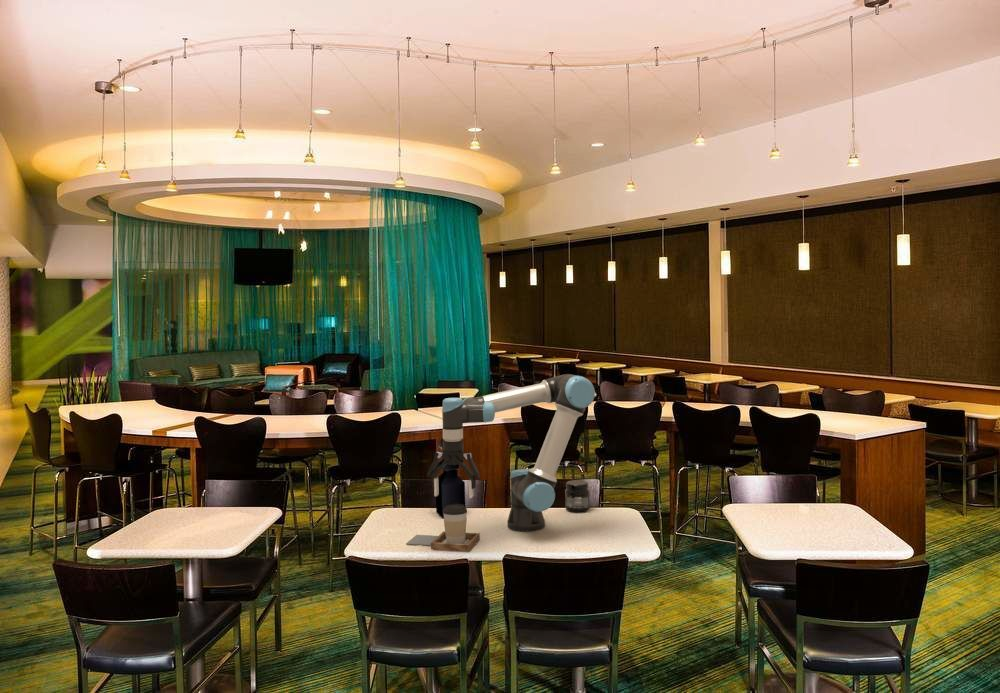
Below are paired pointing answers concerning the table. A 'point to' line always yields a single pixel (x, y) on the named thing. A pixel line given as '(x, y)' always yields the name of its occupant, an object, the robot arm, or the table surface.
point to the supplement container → (577, 496)
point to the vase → (449, 486)
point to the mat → (422, 540)
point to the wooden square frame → (455, 547)
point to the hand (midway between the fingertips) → (453, 496)
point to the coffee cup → (455, 523)
